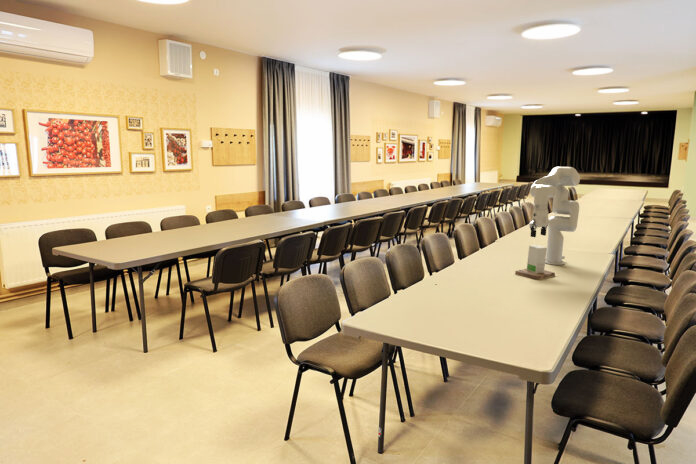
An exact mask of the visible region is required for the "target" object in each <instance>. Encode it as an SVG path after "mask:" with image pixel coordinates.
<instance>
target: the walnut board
mask: <svg viewBox="0 0 696 464" xmlns="http://www.w3.org/2000/svg"><path fill="white" fill-rule="evenodd" d="M514 275H518V276H521V277H524V278H528V279H533V280H537V281H538V280H543V279H548V278H553V277H555V276H556V273H555V272H554V271H550V270H545V269H544V273H533V272H531V271H528V270H527V268H524V269H523V268H522V269H519V270H515V274H514Z"/></svg>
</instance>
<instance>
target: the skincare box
mask: <svg viewBox="0 0 696 464" xmlns="http://www.w3.org/2000/svg"><path fill="white" fill-rule="evenodd" d="M546 255H547V246H546V247H545V246H542V245H540V244H539V245H538V244H532V245H531V244H530V245H528V253H527V261H526V263H527V264H526V269H527V270H528V271H531V272H533V273H544V270H545V268H546V266H545V265H546V263H545V259H546Z"/></svg>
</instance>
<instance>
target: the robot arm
mask: <svg viewBox="0 0 696 464" xmlns="http://www.w3.org/2000/svg"><path fill="white" fill-rule="evenodd" d="M580 181H581V176H580V173H579V172H578V170H576V168H574V167H572V166H555V167H553V168H552V169H551V171H550V172H549V173H548V174H547V176H543V177H541V178H538V179H536V180H535V181H534V182H533V183H532V184H531V186H530V189H529V194H530V196H531V197H533V198H534V199H533V210H532V213H531V214H532V215H531V220H530V222H529V225H528V226H529V229H530V237H532V238H536V237H537V228H540V236H545V237H546V236H547V243H546V244H547V245H546V248H547V251H546V259H545V264H546V265H554V266H562V265H565V262H564V261H563V260H564V259H566V257H565V255H563V249H564V237H565V236H564V235H563V233H562V232H566V233H567V232H569V233H572V232H573V233H574V232H575V231H576V230H577V228H578V221H579V215H580V203H579V202H578V201H576V200H569V191H568V189H567V187H577V186H578V185H579V184H580ZM552 198H553V202H552V213H554V214H555V215H552V216H550V217H549V211H548V206H549V205H548V204H549V199H552ZM556 214H557V215H556ZM562 215H563V216H562ZM564 215H565V216H564ZM547 230H548V231H547Z"/></svg>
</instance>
